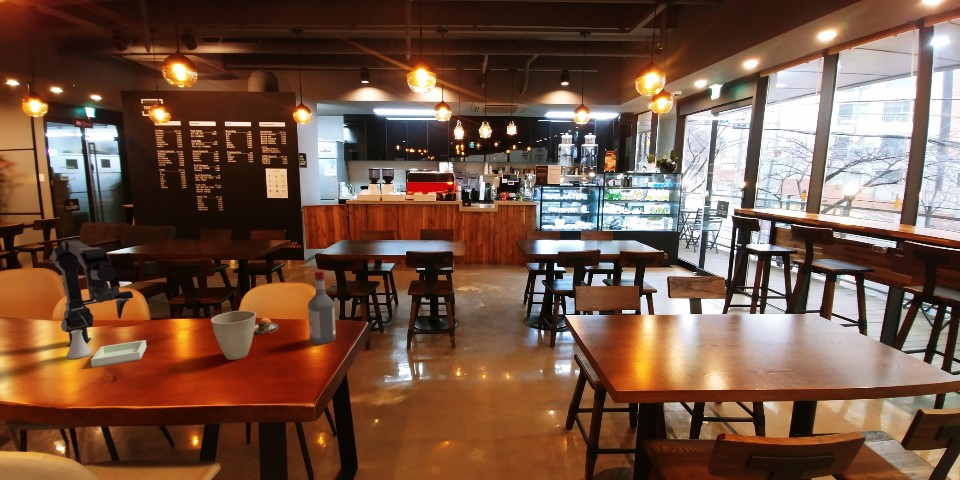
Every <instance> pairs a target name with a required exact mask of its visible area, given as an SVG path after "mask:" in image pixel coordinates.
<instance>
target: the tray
mask: <svg viewBox="0 0 960 480" xmlns="http://www.w3.org/2000/svg"><path fill="white" fill-rule="evenodd" d="M146 349H147V340H146V339H145V340H144V339H143V340H136V341H131V342H121V343H116V344H110V345H103V346H100V347H99V349H98V350H97V351H96V352H95V354H94V355H93V357H91V359H90V363H91V368H98V367H103V366H110V365H116V364H122V363H129V362H133V361H134V362H135V361H141V359H142V357H143V355H144V354H145V353H144V352H145V351H146Z"/></svg>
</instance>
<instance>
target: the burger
mask: <svg viewBox="0 0 960 480" xmlns="http://www.w3.org/2000/svg"><path fill="white" fill-rule="evenodd" d="M278 330H279V324H278V323H277V322H272V321H271V319H270V318H269V317H263V318H261V319H260V322H259V323H257V324H255V328H254V334H253V335H256V334H257V335H259V334H261V335H264V334H270V333H274V332H276V331H278Z"/></svg>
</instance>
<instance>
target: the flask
mask: <svg viewBox="0 0 960 480" xmlns="http://www.w3.org/2000/svg"><path fill="white" fill-rule="evenodd" d="M71 334H72V342H71V345H70V346H69V349H68V352H67V355H66V358H67V359H69V360H72V359H74V360H75V359H76V360H77V359H80V358H85V357H88V356H90V355H92V354H93V351H92V349H91V348H90V347H89V346H88V343H87V344H86V342H85V341H84V339H83V336H82V330H75V331H72V332H71Z"/></svg>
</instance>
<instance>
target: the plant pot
mask: <svg viewBox="0 0 960 480" xmlns="http://www.w3.org/2000/svg"><path fill="white" fill-rule="evenodd" d="M256 317H257V313H256V312H254V311H252V310H235V311H234V310H233V311H228V312H225V313H224V312H223V313H221V314H217V315H215V316H213V317H212V318H211V319H210V321H211V324H212V329H213V331H214V335H215V338H216V340H217V344H218V345H219V347H220V350H221V352H222V353H223V355H224V357H225V358H226V359H227V360H230V361H232V360H235V361H236V360H241V359H242V358H245V357H247V356H248V354H249V351H250V350H251V346H252V343H253V337H254V335H255V334H254V328H255V325H256Z"/></svg>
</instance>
